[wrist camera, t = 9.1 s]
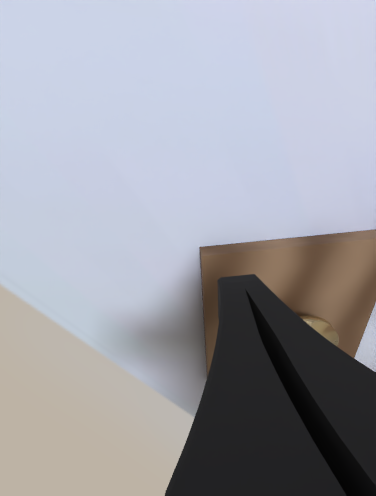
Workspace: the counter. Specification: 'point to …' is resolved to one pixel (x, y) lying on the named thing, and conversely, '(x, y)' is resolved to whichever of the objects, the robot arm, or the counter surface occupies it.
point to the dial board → (301, 279)
